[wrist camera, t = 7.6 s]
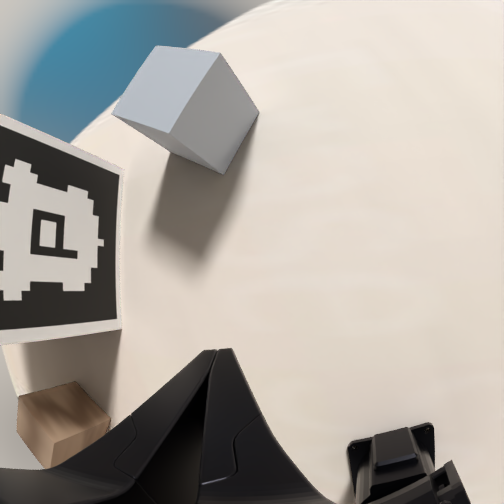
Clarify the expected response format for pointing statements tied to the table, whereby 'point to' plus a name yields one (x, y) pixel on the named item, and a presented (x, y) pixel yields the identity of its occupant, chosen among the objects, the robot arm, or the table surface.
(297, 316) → the table surface
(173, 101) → the slate block
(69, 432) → the walnut block
